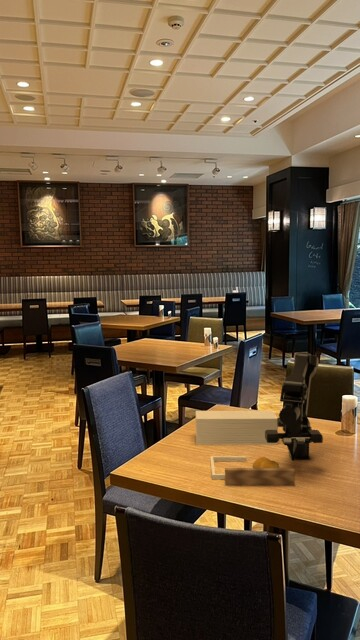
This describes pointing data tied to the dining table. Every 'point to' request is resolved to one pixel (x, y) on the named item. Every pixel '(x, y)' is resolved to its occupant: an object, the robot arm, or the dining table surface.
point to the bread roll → (265, 463)
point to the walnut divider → (260, 476)
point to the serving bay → (223, 458)
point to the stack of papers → (234, 427)
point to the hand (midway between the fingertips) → (292, 460)
